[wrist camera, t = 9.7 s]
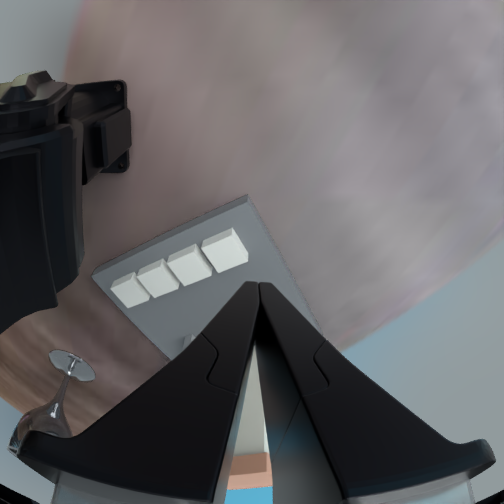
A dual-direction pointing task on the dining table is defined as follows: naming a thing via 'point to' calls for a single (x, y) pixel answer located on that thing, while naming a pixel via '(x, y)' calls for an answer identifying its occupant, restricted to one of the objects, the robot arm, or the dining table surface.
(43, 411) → the wine glass
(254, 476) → the key
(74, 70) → the dining table surface
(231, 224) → the keyboard deck
